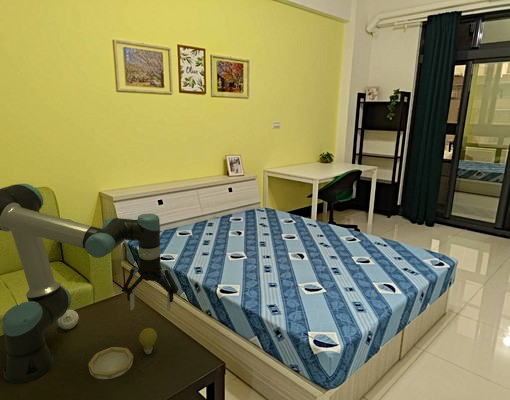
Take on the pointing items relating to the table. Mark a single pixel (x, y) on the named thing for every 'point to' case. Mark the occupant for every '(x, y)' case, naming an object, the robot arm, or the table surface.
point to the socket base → (110, 363)
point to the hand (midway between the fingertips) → (150, 308)
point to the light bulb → (148, 339)
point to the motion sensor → (68, 319)
